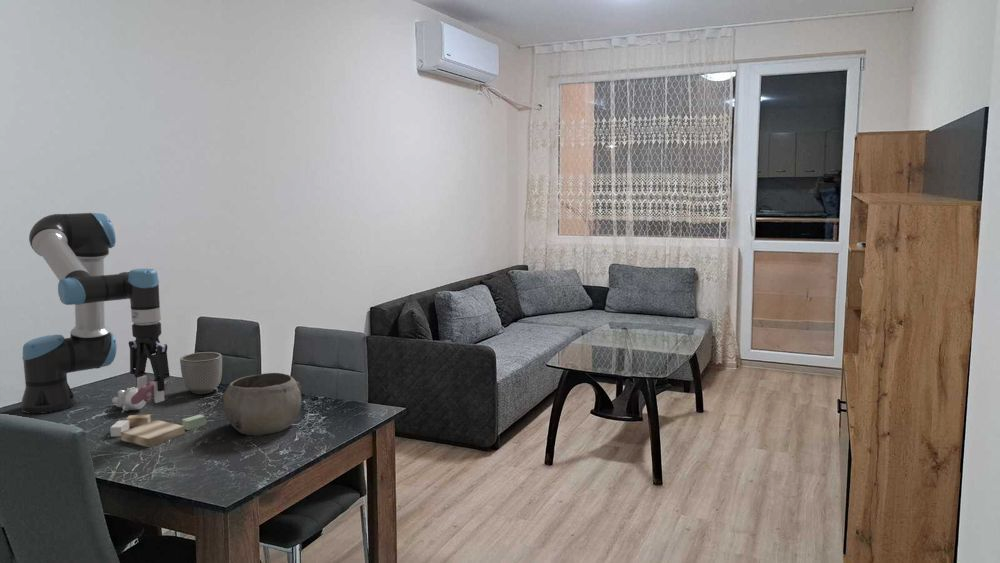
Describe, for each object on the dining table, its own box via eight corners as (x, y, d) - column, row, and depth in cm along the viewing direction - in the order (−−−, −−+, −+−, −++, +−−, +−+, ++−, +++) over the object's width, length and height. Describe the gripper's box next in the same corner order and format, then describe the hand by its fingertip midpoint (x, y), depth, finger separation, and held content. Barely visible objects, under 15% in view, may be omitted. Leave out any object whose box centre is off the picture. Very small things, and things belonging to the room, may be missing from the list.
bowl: (281, 409, 235) (279, 365, 233) (316, 427, 219) (315, 380, 217) (212, 426, 219) (209, 378, 217) (244, 446, 203) (242, 395, 201)
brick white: (119, 430, 215) (118, 420, 215) (129, 429, 216) (129, 420, 215) (110, 437, 209) (110, 427, 209) (121, 436, 210) (120, 427, 209)
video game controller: (140, 410, 202) (147, 389, 201) (128, 403, 203) (135, 382, 202) (165, 401, 212) (172, 380, 210) (153, 393, 213) (160, 373, 211)
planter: (214, 397, 247) (212, 361, 245) (174, 397, 247) (172, 361, 246) (229, 386, 261) (228, 352, 259) (192, 385, 261) (190, 351, 259)
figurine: (121, 379, 240) (139, 379, 231) (139, 391, 244) (158, 391, 235) (101, 406, 235) (118, 407, 225) (119, 418, 239) (138, 419, 229)
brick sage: (188, 430, 215) (187, 421, 215) (182, 428, 217) (181, 419, 216) (205, 425, 220) (205, 416, 220) (200, 423, 222) (199, 414, 221)
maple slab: (121, 440, 206) (120, 432, 206) (157, 427, 217) (156, 419, 217) (149, 447, 201) (148, 438, 201) (184, 434, 212) (184, 426, 211)
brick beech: (127, 428, 217) (126, 418, 217) (130, 424, 220) (129, 415, 220) (148, 426, 218) (147, 417, 218) (150, 423, 221) (150, 414, 221)
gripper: (112, 321, 205) (117, 398, 208) (158, 328, 197) (163, 408, 200) (135, 317, 212) (140, 392, 215) (180, 323, 203) (185, 400, 207)
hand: (151, 399), depth 207 cm, fingers closed on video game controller, 6 cm apart
